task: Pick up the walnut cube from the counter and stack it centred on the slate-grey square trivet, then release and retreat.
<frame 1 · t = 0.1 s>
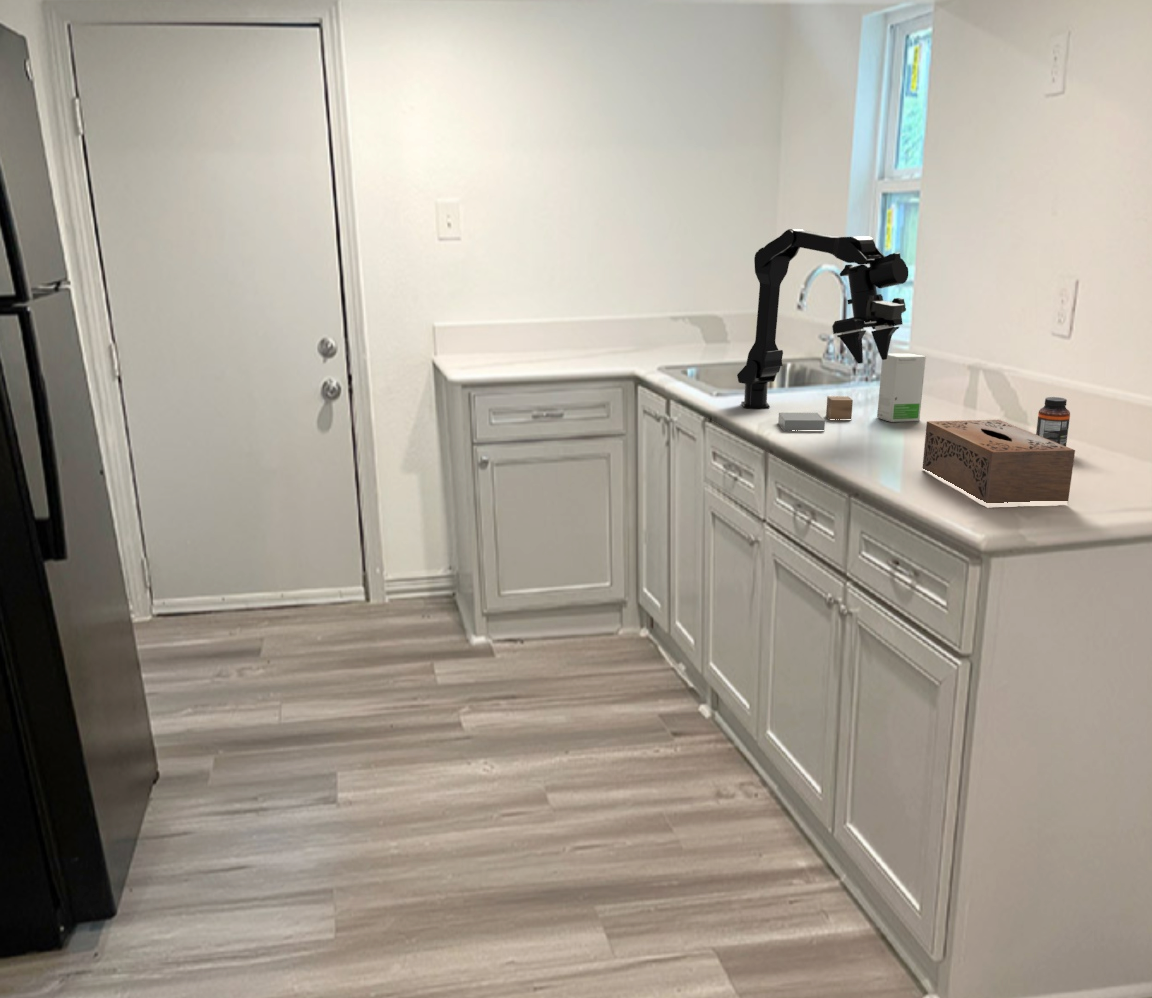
hand: (872, 361, 231), 15 cm above the worktop, tool pointing down, fingers open, 9 cm apart
skincare box: (897, 420, 244), on the worktop
supplement bottle: (1049, 453, 211), on the worktop
walnut cube: (838, 418, 246), on the worktop
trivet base: (800, 429, 236), on the worktop
tissue box cover: (990, 489, 185), on the worktop
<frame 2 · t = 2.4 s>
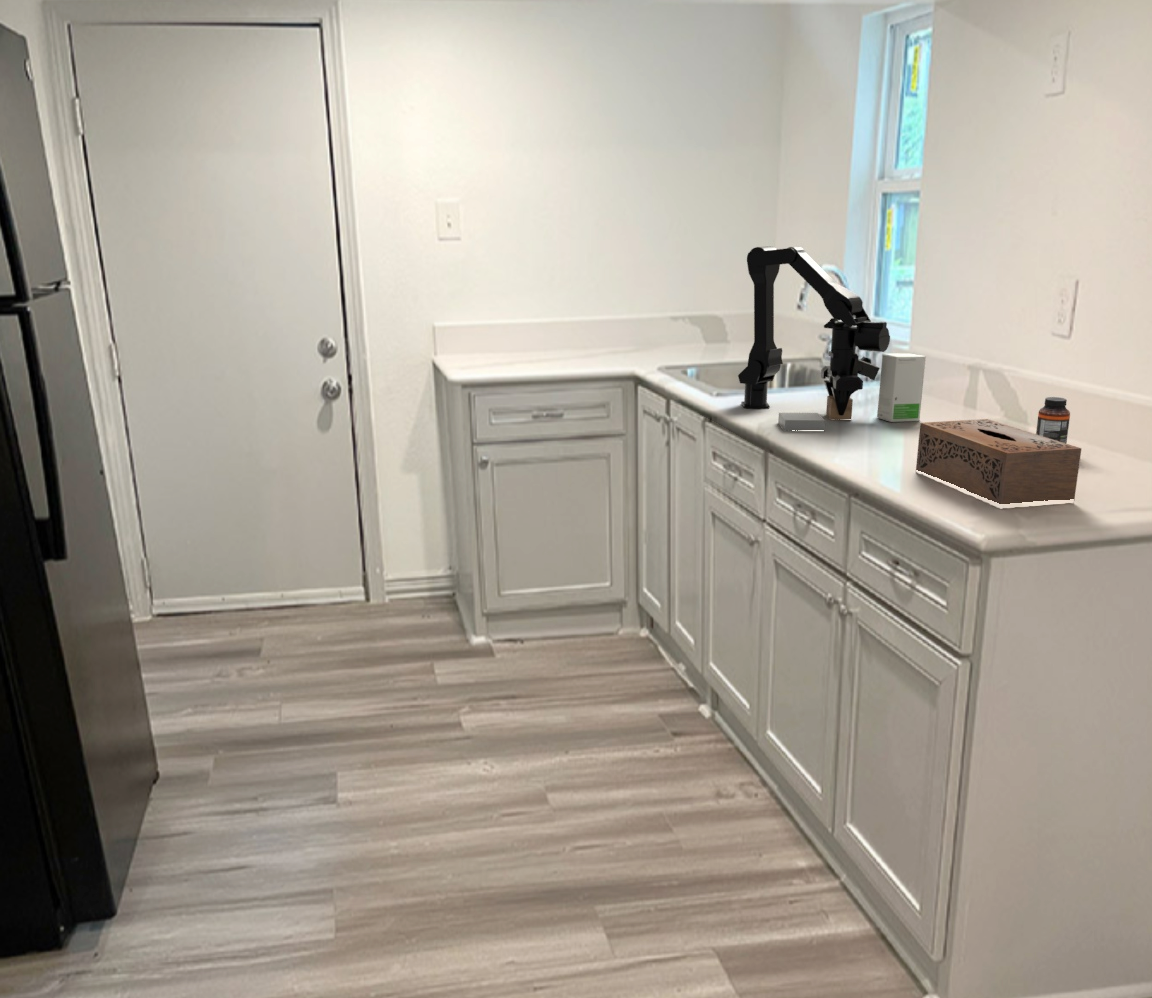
hand: (838, 413, 246), 1 cm above the worktop, tool pointing down, fingers closed on walnut cube, 5 cm apart
walnut cube: (838, 418, 246), on the worktop, touching gripper
when the fingers open (5 cm above the worktop, at t = 5.8 s): walnut cube drops 1 cm, point 2 cm above the worktop.
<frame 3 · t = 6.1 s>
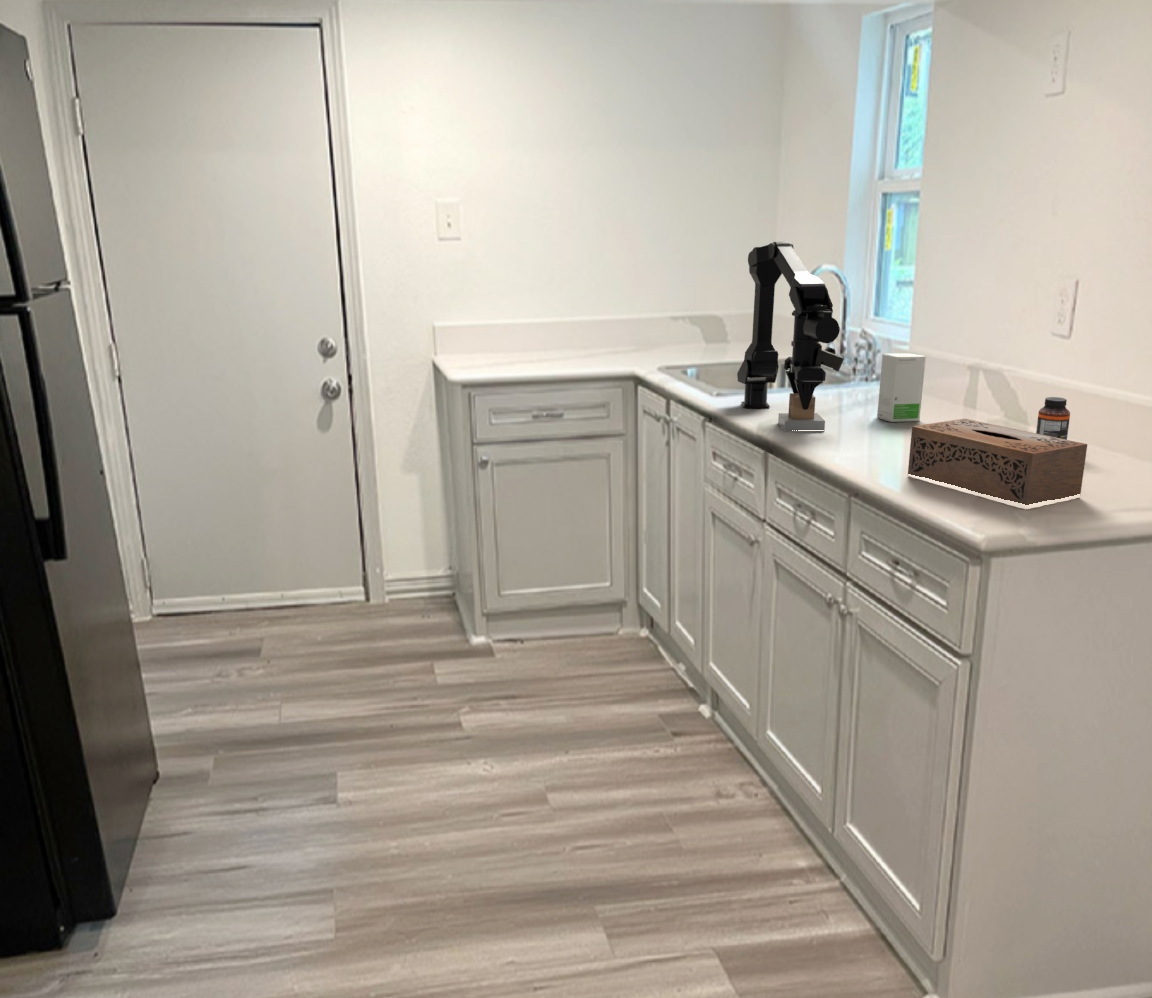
hand: (802, 406, 234), 5 cm above the worktop, tool pointing down, fingers open, 8 cm apart
walnut cube: (801, 416, 235), point 2 cm above the worktop
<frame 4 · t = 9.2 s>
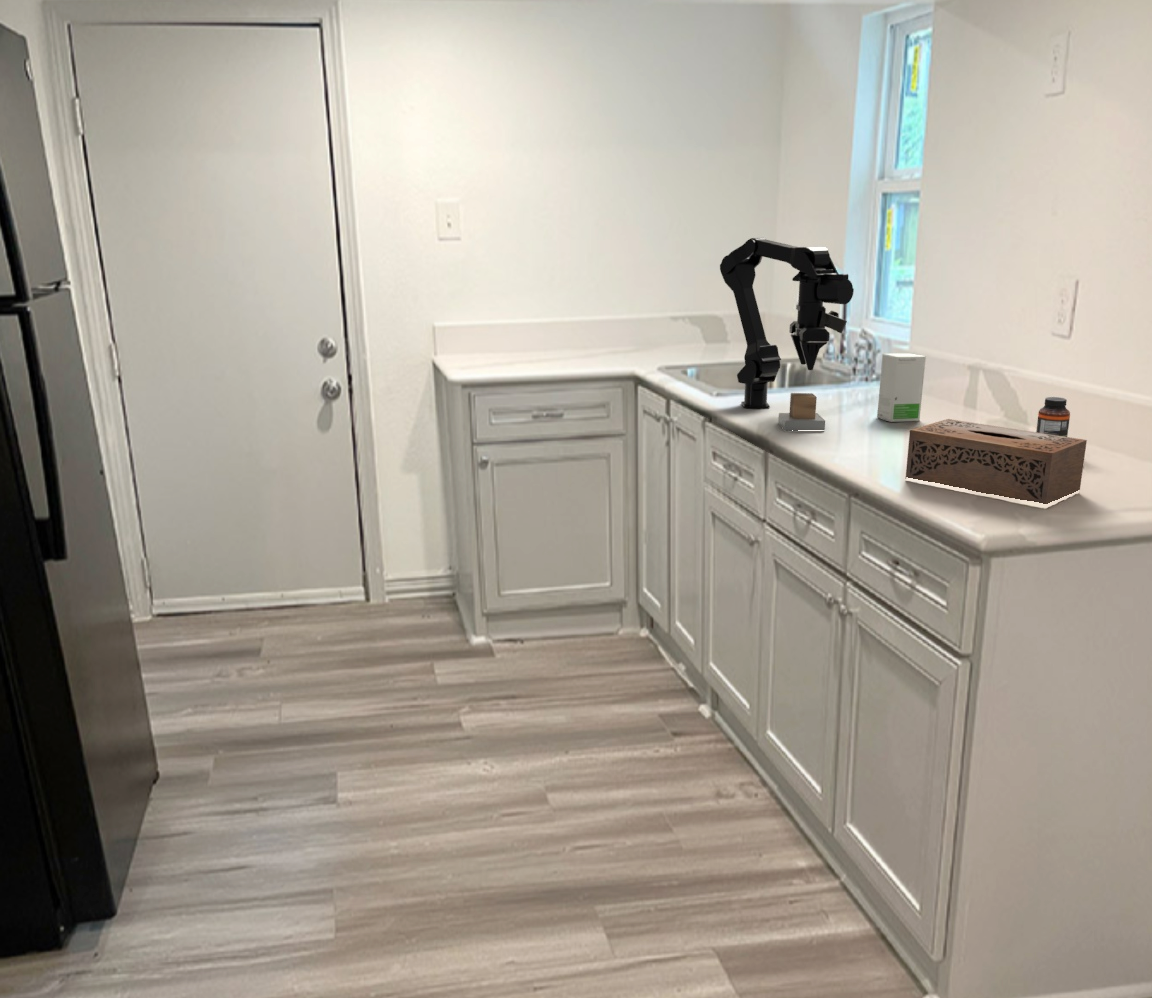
hand: (806, 367, 245), 12 cm above the worktop, tool pointing down, fingers open, 9 cm apart
walnut cube: (802, 416, 235), point 3 cm above the worktop, touching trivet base
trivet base: (800, 429, 236), on the worktop, touching walnut cube
at the end: walnut cube 0.2 cm off-centre on the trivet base, point 3.0 cm above the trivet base's base; walnut cube tilted 1°; the gripper is holding nothing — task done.
